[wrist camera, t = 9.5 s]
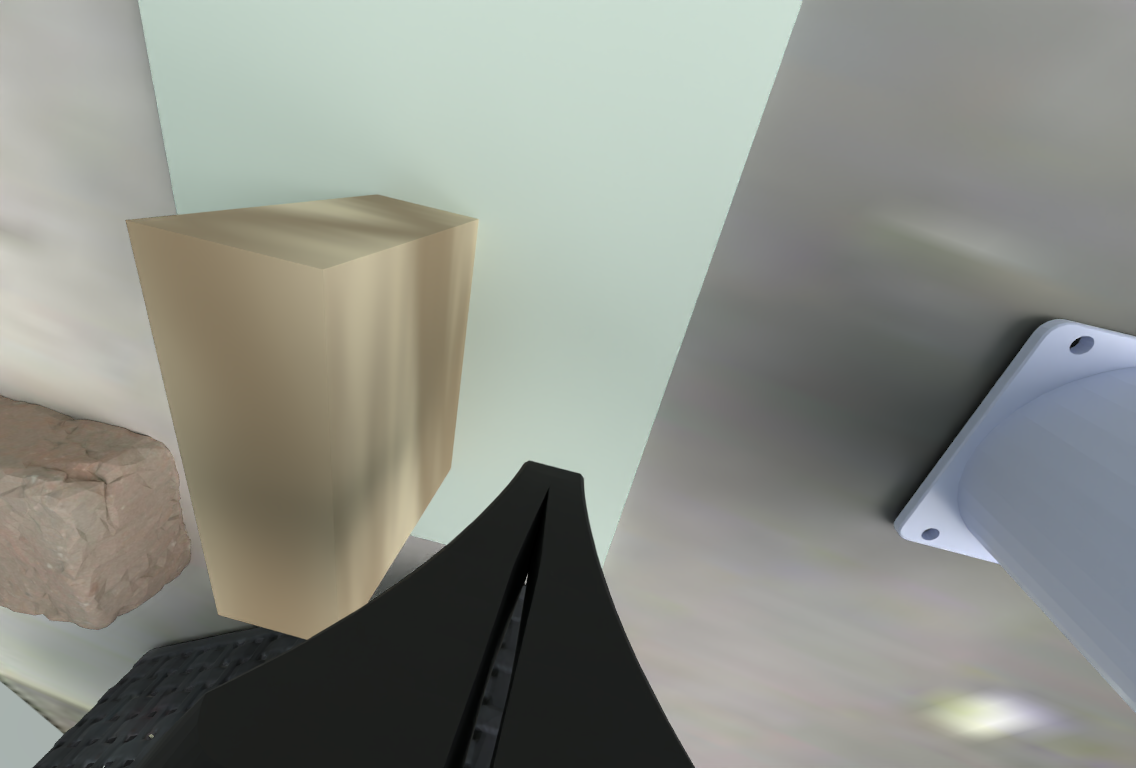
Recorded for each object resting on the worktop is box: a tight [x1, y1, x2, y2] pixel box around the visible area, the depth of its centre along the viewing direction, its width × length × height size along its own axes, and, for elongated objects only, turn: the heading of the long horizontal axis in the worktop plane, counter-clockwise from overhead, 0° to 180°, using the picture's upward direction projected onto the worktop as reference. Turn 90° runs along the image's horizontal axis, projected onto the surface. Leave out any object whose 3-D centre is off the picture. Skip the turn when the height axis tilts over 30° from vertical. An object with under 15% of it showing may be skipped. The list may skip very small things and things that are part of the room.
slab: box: [126, 194, 479, 640], centre depth 12 cm, size 3×9×7 cm, turn 168°
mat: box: [138, 0, 803, 568], centre depth 14 cm, size 16×20×1 cm
